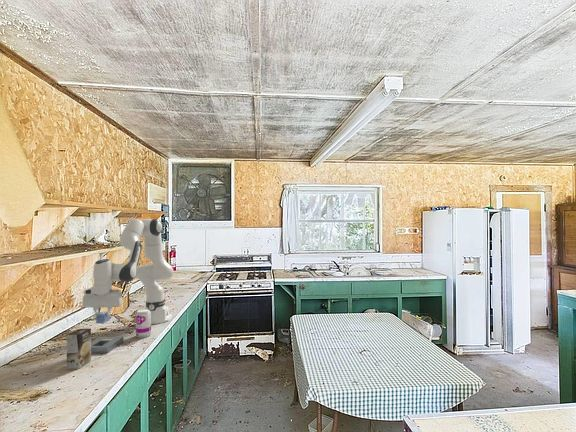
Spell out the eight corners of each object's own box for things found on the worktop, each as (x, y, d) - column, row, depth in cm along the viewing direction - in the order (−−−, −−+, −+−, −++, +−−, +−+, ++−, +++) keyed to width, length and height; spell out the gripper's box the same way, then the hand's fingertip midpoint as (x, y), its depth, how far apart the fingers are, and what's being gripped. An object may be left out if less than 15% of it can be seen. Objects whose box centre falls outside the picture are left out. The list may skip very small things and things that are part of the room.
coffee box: (79, 369, 158) (79, 334, 158) (66, 369, 158) (65, 334, 158) (91, 360, 167) (91, 328, 167) (79, 360, 167) (78, 328, 167)
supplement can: (145, 338, 197) (145, 312, 197) (133, 337, 199) (132, 312, 199) (153, 333, 205) (153, 309, 205) (141, 333, 207) (141, 308, 207)
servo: (103, 319, 188) (104, 308, 188) (111, 319, 188) (111, 309, 188) (94, 323, 179) (95, 313, 179) (101, 324, 178) (102, 313, 179)
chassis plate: (99, 342, 192) (99, 336, 193) (123, 342, 192) (123, 336, 192) (81, 353, 176) (81, 347, 177) (107, 353, 176) (107, 347, 176)
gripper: (124, 288, 186) (124, 313, 186) (87, 288, 186) (87, 314, 186) (118, 290, 180) (118, 316, 179) (80, 291, 180) (80, 317, 180)
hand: (102, 315), depth 183 cm, fingers closed on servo, 4 cm apart
